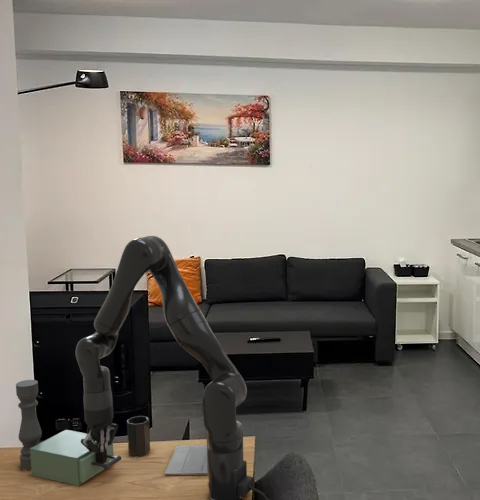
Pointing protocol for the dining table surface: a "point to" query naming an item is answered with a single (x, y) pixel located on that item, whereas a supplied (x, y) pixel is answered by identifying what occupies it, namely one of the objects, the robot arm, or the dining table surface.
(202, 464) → the laptop
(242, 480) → the robot arm
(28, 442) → the candle holder
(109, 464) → the drawer
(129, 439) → the tumbler
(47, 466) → the cabinet
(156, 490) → the dining table surface
